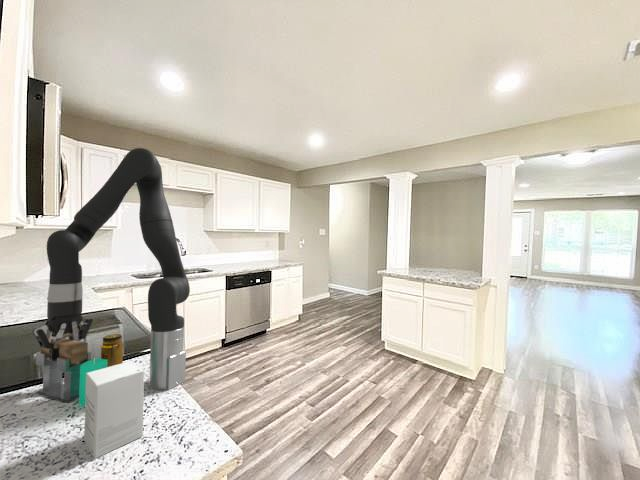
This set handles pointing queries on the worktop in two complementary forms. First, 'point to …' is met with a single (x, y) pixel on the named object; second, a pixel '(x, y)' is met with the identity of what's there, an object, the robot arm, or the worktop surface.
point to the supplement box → (113, 407)
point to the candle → (84, 369)
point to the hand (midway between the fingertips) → (63, 358)
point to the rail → (71, 350)
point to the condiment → (112, 349)
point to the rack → (60, 377)
